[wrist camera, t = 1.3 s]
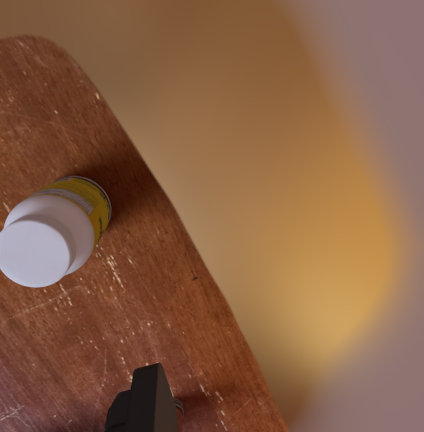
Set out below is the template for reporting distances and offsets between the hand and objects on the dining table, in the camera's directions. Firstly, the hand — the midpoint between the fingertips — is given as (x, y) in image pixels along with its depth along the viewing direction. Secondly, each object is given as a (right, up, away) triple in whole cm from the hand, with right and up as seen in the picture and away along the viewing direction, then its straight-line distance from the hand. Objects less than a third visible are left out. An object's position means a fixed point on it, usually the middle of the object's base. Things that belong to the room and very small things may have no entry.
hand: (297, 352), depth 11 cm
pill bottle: (-15, +5, +23) cm, 28 cm away
